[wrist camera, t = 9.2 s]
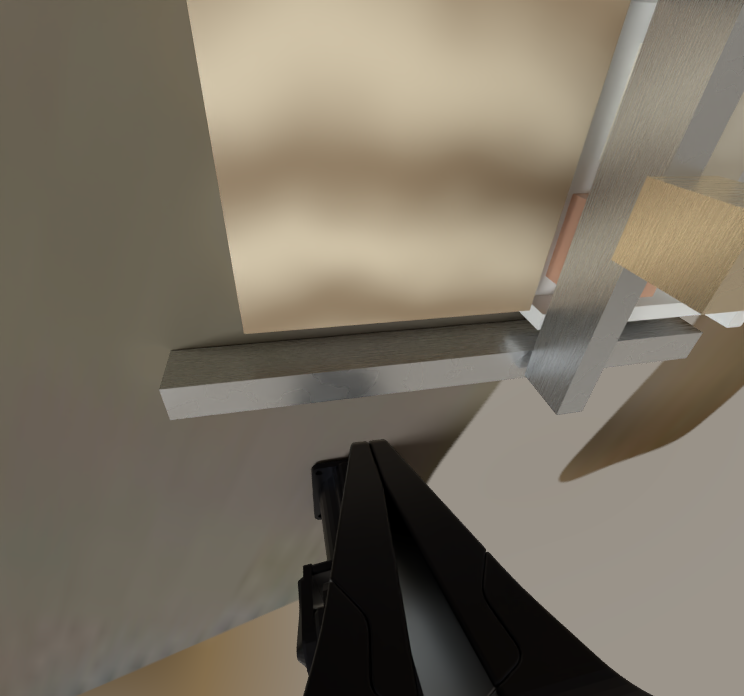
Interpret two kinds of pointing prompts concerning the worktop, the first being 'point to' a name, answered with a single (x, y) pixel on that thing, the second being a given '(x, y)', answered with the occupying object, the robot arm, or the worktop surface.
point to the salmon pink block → (567, 237)
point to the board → (396, 149)
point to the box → (588, 166)
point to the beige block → (733, 151)
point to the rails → (381, 364)
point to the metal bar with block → (653, 201)
